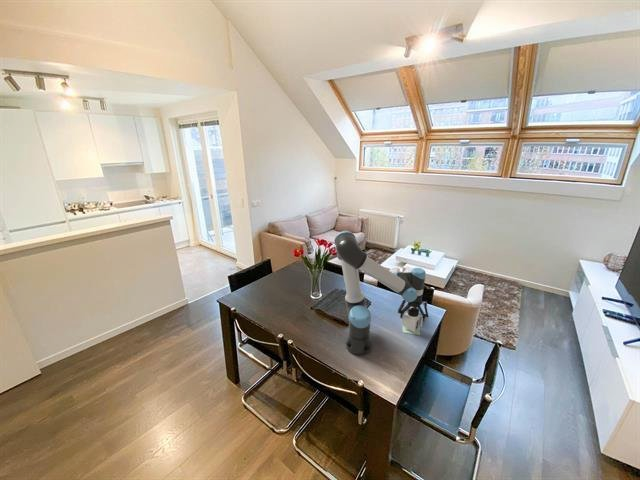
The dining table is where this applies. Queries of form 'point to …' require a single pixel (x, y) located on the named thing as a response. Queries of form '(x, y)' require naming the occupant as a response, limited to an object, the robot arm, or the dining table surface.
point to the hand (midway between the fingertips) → (411, 323)
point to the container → (412, 319)
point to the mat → (416, 332)
